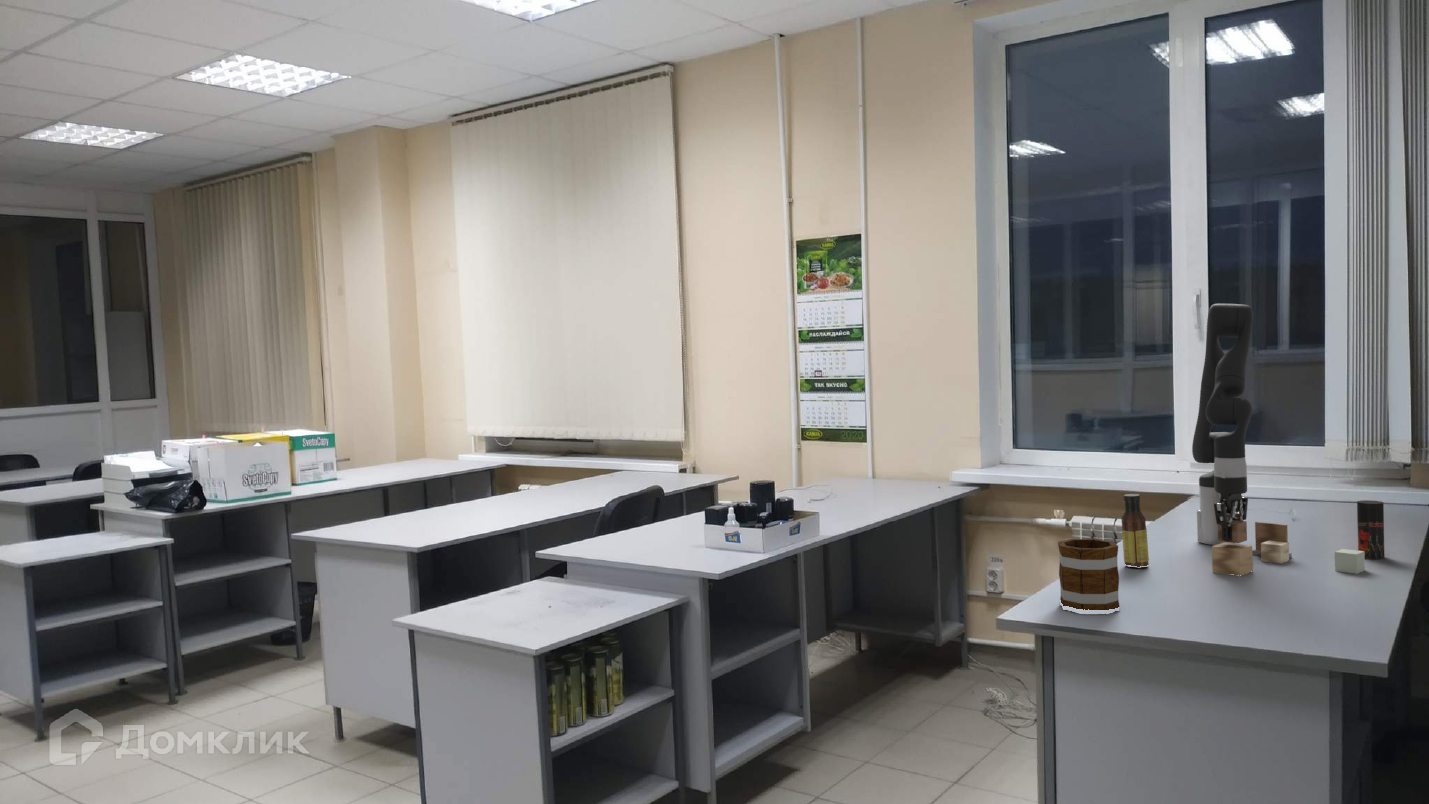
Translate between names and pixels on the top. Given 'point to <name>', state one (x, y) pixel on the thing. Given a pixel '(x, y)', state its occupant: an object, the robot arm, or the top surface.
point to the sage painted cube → (1349, 561)
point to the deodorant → (1371, 528)
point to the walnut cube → (1235, 532)
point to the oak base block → (1232, 558)
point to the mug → (1089, 574)
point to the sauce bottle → (1134, 533)
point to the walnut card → (1269, 535)
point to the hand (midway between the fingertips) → (1232, 538)
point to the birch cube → (1275, 551)
